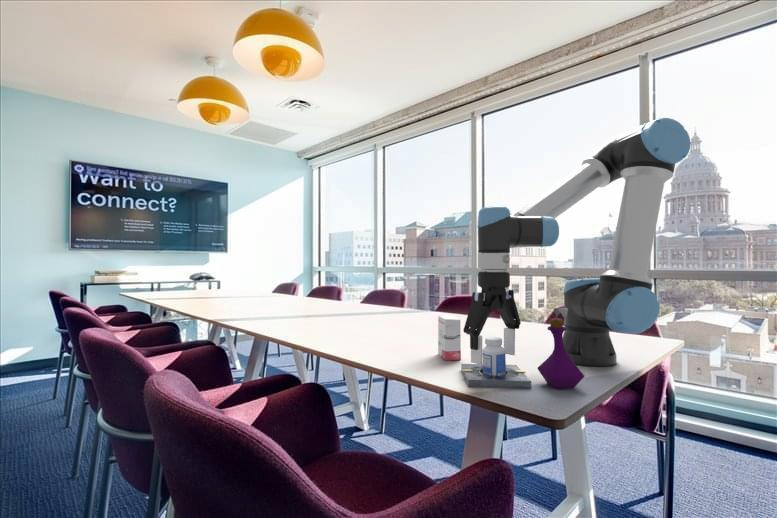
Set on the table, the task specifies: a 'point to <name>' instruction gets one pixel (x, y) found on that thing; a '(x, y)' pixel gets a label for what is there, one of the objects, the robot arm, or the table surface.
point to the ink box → (449, 338)
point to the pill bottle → (494, 357)
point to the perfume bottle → (560, 359)
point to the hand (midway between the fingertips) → (493, 358)
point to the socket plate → (495, 377)
